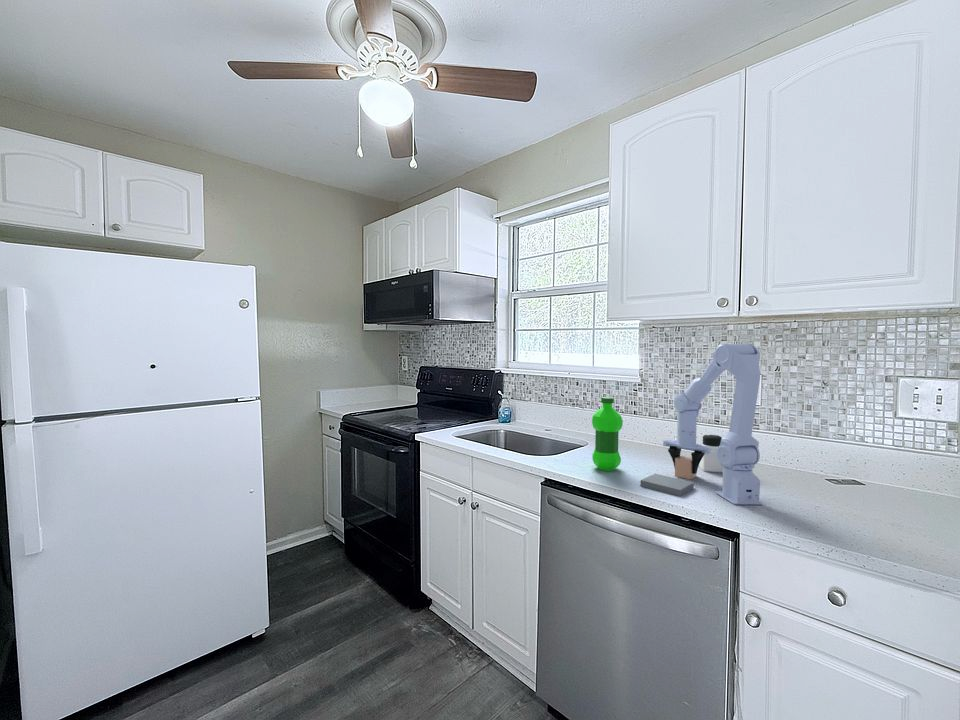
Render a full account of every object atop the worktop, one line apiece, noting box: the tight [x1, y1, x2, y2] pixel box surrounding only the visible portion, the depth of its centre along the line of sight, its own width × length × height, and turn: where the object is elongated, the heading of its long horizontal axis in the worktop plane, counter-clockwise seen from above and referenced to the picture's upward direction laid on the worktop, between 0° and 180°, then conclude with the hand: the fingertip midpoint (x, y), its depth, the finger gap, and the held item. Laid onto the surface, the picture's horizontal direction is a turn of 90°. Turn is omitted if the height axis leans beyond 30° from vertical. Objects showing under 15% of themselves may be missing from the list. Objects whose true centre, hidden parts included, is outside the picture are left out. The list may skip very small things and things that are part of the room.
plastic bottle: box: [591, 396, 624, 472], centre depth 151 cm, size 10×10×25 cm
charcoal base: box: [640, 473, 695, 497], centre depth 132 cm, size 12×10×2 cm
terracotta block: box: [674, 454, 697, 480], centre depth 143 cm, size 5×5×6 cm
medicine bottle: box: [698, 433, 723, 473], centre depth 151 cm, size 7×7×12 cm
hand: (685, 471), depth 143 cm, fingers closed on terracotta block, 5 cm apart
